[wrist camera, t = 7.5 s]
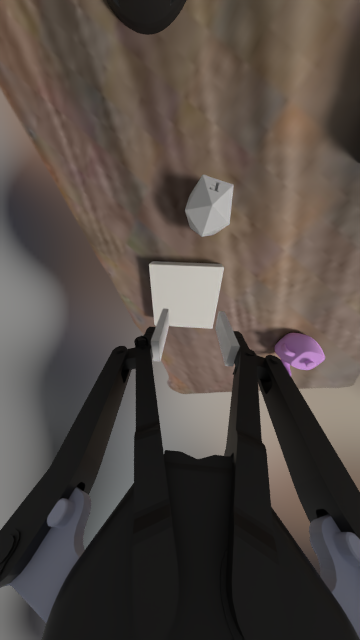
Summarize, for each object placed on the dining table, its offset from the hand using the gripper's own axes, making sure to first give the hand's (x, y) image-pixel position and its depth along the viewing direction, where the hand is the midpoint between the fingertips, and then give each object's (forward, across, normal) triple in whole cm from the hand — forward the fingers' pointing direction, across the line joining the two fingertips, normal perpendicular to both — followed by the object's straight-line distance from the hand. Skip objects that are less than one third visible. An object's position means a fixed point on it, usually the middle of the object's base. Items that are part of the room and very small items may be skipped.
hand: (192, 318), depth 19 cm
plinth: (+23, -2, -6) cm, 23 cm away
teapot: (+23, +34, -23) cm, 48 cm away
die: (+23, +2, +14) cm, 27 cm away
